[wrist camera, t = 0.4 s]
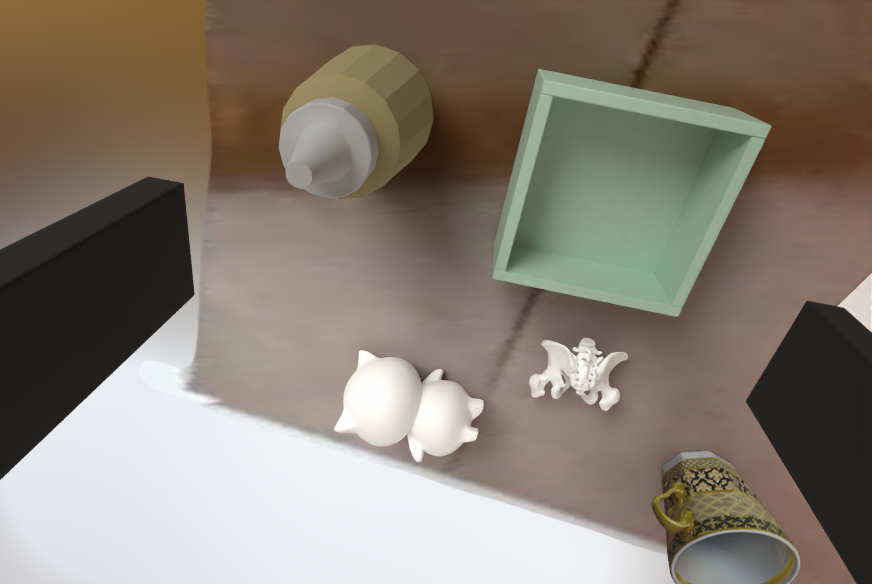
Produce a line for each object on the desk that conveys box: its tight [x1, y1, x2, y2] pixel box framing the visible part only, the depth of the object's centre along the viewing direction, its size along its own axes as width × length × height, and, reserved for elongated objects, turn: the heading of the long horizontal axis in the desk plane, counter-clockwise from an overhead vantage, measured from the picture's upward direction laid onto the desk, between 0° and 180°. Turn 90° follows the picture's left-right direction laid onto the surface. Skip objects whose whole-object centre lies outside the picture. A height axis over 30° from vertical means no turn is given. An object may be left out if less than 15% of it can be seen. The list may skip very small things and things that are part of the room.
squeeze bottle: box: [279, 44, 434, 199], centre depth 29 cm, size 8×8×18 cm
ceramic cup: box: [652, 451, 800, 584], centre depth 47 cm, size 13×10×10 cm
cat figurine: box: [334, 350, 484, 462], centre depth 47 cm, size 9×11×12 cm
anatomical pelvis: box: [529, 338, 628, 411], centre depth 45 cm, size 8×4×7 cm
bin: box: [492, 69, 771, 317], centre depth 36 cm, size 14×14×6 cm
